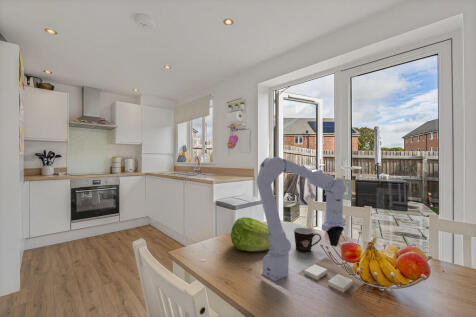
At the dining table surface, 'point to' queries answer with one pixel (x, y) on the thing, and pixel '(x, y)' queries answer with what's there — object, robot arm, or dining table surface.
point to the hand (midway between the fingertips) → (333, 245)
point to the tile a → (315, 272)
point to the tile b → (340, 283)
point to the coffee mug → (304, 239)
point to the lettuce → (250, 235)
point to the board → (333, 271)
